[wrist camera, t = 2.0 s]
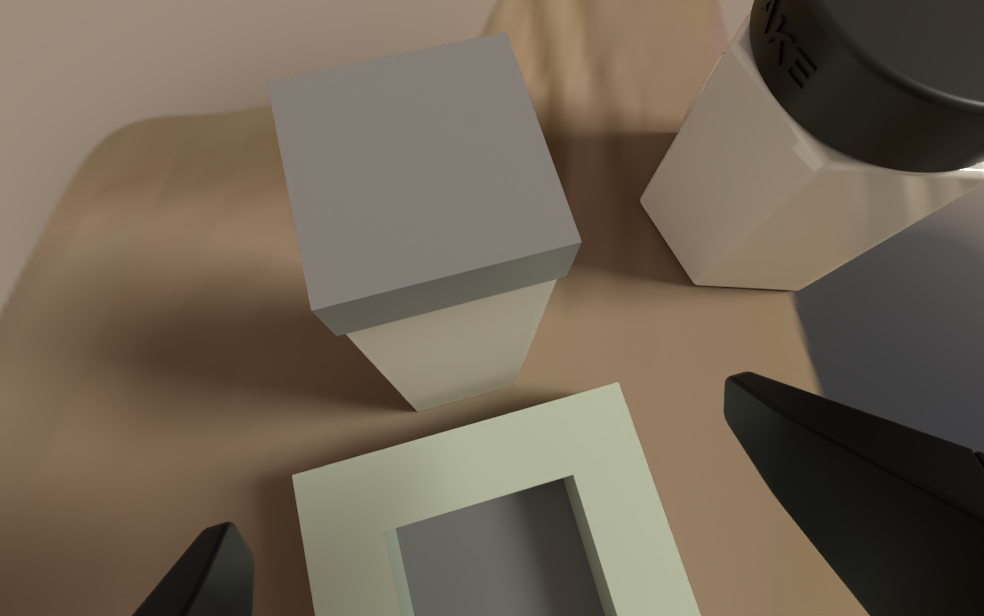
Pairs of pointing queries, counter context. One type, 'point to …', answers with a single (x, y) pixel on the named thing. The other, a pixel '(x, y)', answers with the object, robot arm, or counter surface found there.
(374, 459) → the socket
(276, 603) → the counter surface
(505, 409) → the counter surface
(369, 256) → the plug
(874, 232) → the jar
